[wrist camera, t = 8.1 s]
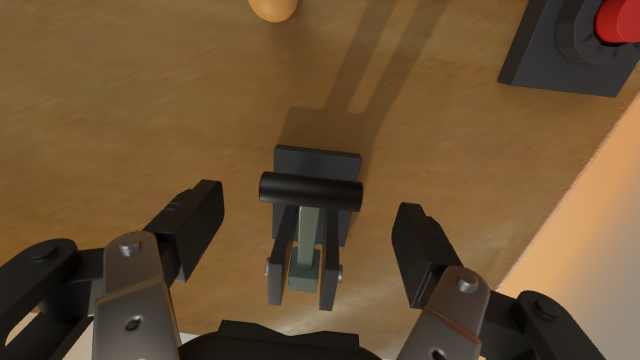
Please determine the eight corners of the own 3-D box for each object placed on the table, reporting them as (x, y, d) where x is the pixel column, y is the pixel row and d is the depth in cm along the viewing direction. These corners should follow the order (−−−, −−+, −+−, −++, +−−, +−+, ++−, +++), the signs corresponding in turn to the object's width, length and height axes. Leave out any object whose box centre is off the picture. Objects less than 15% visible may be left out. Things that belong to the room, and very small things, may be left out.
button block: (561, -81, 18) (616, -110, 15) (685, -66, 19) (768, -91, 15) (496, 82, 24) (525, 88, 20) (593, 93, 24) (638, 102, 20)
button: (614, -23, 17) (642, -29, 16) (667, -17, 17) (701, -23, 16) (582, 39, 19) (604, 39, 17) (631, 45, 19) (658, 45, 17)
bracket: (276, 144, 27) (237, 216, 16) (360, 154, 28) (379, 231, 16) (274, 232, 33) (243, 331, 22) (343, 240, 33) (349, 342, 22)
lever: (266, 158, 13) (254, 195, 12) (362, 169, 13) (364, 207, 12) (276, 259, 22) (270, 288, 21) (333, 266, 22) (332, 294, 21)
